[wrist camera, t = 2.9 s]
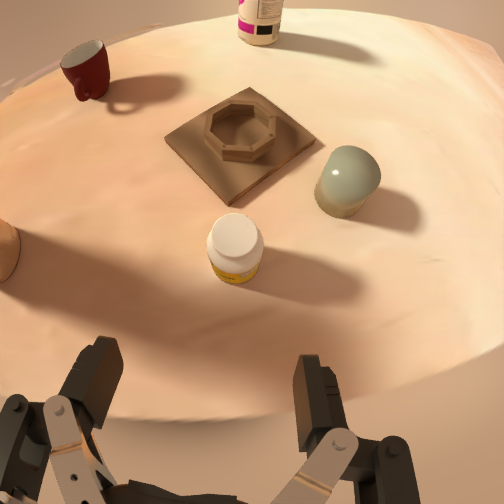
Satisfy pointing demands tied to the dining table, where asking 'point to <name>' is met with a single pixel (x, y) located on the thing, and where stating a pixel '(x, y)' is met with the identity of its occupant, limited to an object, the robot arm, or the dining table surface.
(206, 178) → the caddy
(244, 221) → the supplement bottle
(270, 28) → the supplement can
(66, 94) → the dining table surface
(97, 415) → the robot arm
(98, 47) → the mug
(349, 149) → the sage green domed cylinder
